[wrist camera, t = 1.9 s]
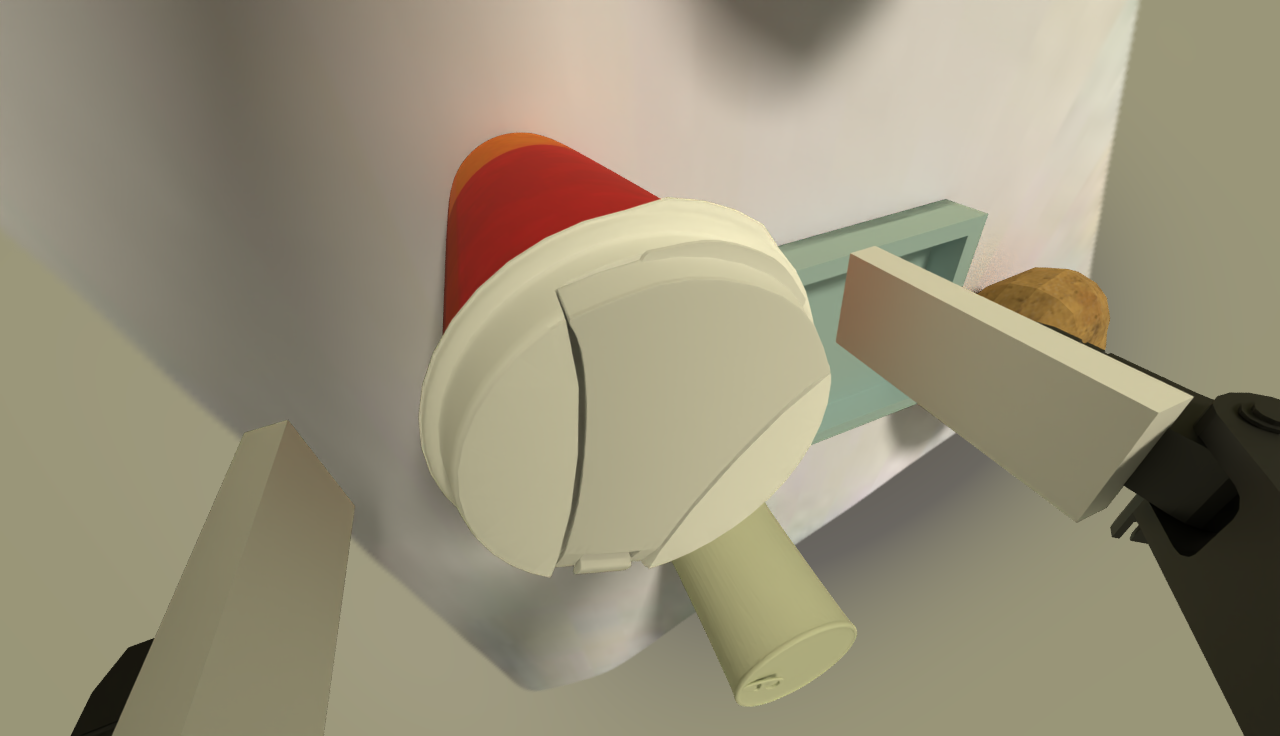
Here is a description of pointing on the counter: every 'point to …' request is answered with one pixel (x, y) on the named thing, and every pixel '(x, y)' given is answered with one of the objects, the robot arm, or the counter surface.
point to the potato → (1056, 301)
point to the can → (764, 610)
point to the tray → (916, 235)
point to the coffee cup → (610, 364)
